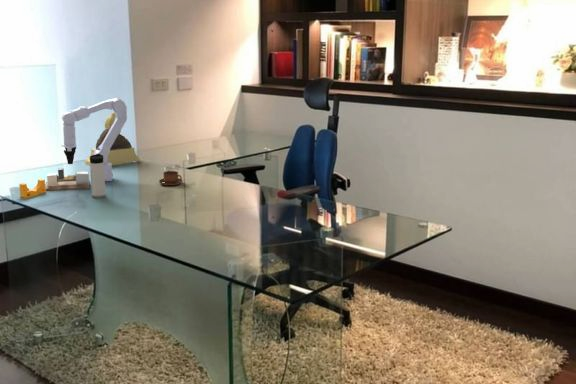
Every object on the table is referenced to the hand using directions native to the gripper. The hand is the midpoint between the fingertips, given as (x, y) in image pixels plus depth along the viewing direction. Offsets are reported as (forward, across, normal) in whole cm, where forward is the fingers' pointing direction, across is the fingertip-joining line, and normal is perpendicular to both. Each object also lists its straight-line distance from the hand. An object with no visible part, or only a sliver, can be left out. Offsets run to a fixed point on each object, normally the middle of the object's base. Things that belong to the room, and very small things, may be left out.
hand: (70, 162), depth 329 cm
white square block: (+11, +8, -8) cm, 16 cm away
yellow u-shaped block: (+11, +21, -16) cm, 29 cm away
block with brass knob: (+8, +8, -3) cm, 12 cm away
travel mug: (+10, +30, +14) cm, 35 cm away
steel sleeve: (+10, +8, +6) cm, 14 cm away
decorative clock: (+10, -43, +21) cm, 49 cm away
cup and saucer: (+10, +13, +49) cm, 52 cm away
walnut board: (+10, +8, -2) cm, 13 cm away
